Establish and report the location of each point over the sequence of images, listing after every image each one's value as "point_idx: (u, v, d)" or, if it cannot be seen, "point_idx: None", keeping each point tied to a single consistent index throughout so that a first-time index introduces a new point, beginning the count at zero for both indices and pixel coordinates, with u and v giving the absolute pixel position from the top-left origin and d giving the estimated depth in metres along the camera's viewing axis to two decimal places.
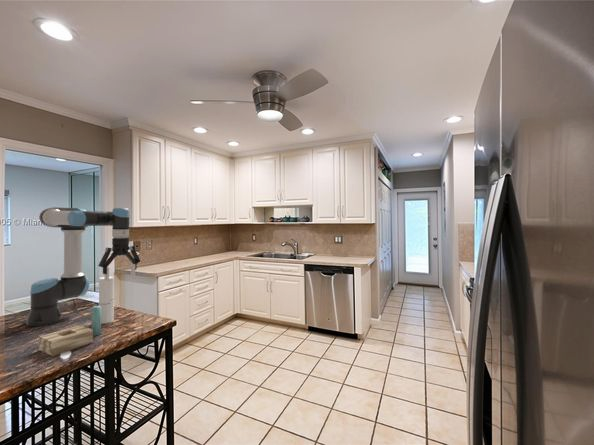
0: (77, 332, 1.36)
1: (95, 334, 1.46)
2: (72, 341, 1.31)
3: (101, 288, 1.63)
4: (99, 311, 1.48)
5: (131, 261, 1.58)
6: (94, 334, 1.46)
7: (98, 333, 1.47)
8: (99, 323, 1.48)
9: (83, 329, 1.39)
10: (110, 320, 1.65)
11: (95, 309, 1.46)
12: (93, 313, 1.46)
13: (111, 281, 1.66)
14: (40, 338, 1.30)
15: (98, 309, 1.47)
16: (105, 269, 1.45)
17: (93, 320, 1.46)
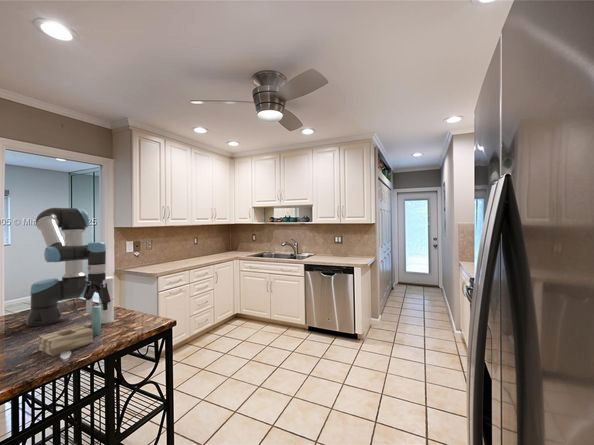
0: (77, 332, 1.36)
1: (95, 334, 1.46)
2: (72, 341, 1.31)
3: None
4: (99, 311, 1.48)
5: None
6: (94, 334, 1.46)
7: (98, 333, 1.47)
8: (99, 323, 1.48)
9: (83, 329, 1.39)
10: (110, 320, 1.65)
11: (95, 309, 1.46)
12: (93, 313, 1.46)
13: (111, 281, 1.66)
14: (40, 338, 1.30)
15: (98, 309, 1.47)
16: None
17: (93, 320, 1.46)
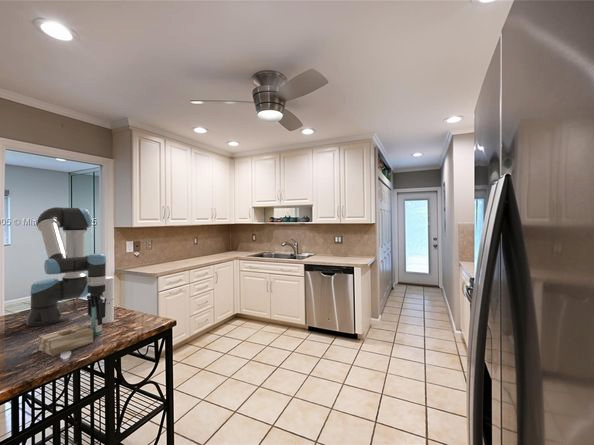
0: (77, 332, 1.36)
1: (95, 334, 1.47)
2: (72, 341, 1.31)
3: None
4: None
5: None
6: (94, 334, 1.46)
7: (98, 333, 1.47)
8: None
9: (83, 329, 1.39)
10: (110, 320, 1.65)
11: (95, 309, 1.46)
12: (93, 313, 1.46)
13: (111, 281, 1.66)
14: (40, 338, 1.30)
15: None
16: (91, 318, 1.49)
17: (93, 320, 1.46)
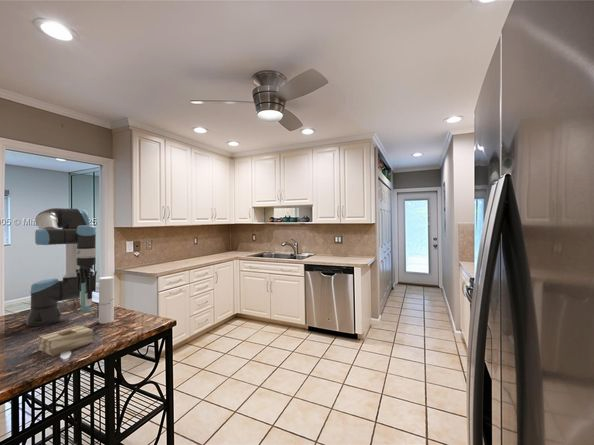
0: (77, 332, 1.36)
1: (85, 311, 1.41)
2: (72, 341, 1.31)
3: (101, 288, 1.63)
4: None
5: None
6: (84, 311, 1.41)
7: (88, 310, 1.42)
8: None
9: (83, 329, 1.39)
10: (110, 320, 1.65)
11: (85, 285, 1.41)
12: (83, 289, 1.41)
13: (111, 281, 1.66)
14: (40, 338, 1.30)
15: None
16: (80, 292, 1.43)
17: (83, 296, 1.41)
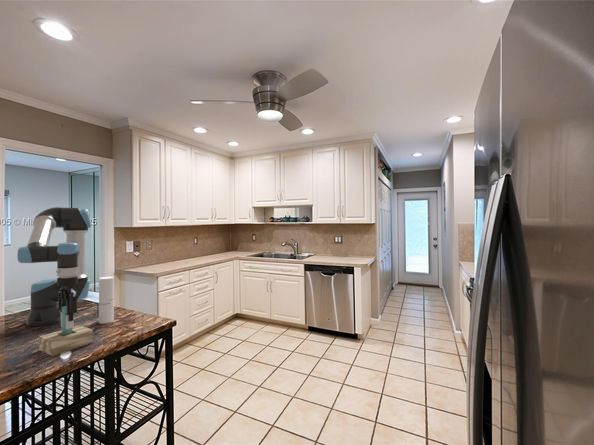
0: (77, 332, 1.36)
1: None
2: (72, 341, 1.31)
3: (101, 288, 1.63)
4: None
5: None
6: None
7: None
8: None
9: (83, 329, 1.39)
10: (110, 320, 1.65)
11: (65, 309, 1.32)
12: (63, 313, 1.32)
13: (111, 281, 1.66)
14: (40, 338, 1.30)
15: None
16: (61, 313, 1.35)
17: (63, 321, 1.32)
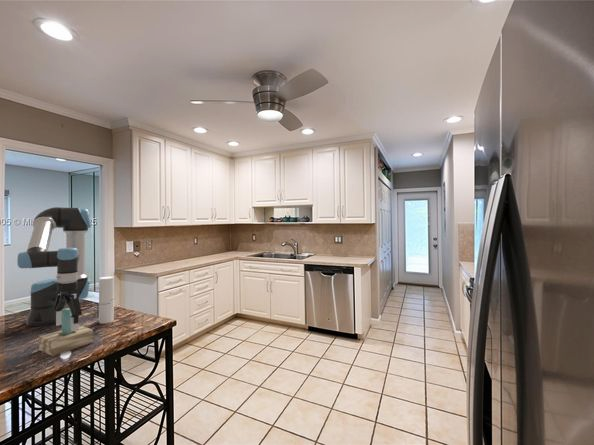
0: (77, 332, 1.36)
1: None
2: (72, 341, 1.31)
3: (101, 288, 1.63)
4: (70, 314, 1.34)
5: None
6: None
7: None
8: (70, 327, 1.34)
9: (83, 329, 1.39)
10: (110, 320, 1.65)
11: (65, 312, 1.32)
12: (63, 316, 1.32)
13: (111, 281, 1.66)
14: (40, 338, 1.30)
15: (68, 312, 1.33)
16: None
17: (63, 324, 1.32)
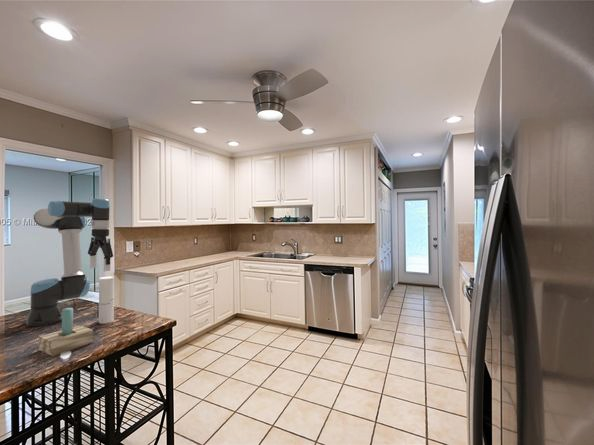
0: (77, 332, 1.36)
1: None
2: (72, 341, 1.31)
3: (101, 288, 1.63)
4: (70, 314, 1.34)
5: (108, 255, 1.48)
6: None
7: None
8: (70, 327, 1.34)
9: (83, 329, 1.39)
10: (110, 320, 1.65)
11: (66, 312, 1.32)
12: (63, 316, 1.32)
13: (111, 281, 1.66)
14: (40, 338, 1.30)
15: (69, 312, 1.33)
16: None
17: (63, 324, 1.32)
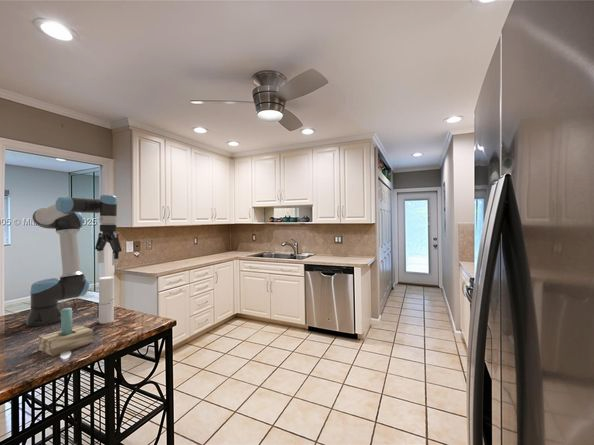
0: (77, 332, 1.36)
1: None
2: (72, 341, 1.31)
3: (101, 288, 1.63)
4: (69, 314, 1.34)
5: None
6: None
7: None
8: (70, 327, 1.34)
9: (83, 329, 1.39)
10: (110, 320, 1.65)
11: (65, 311, 1.32)
12: (63, 316, 1.32)
13: (111, 281, 1.66)
14: (40, 338, 1.30)
15: (68, 312, 1.33)
16: (98, 252, 1.58)
17: (63, 324, 1.32)
